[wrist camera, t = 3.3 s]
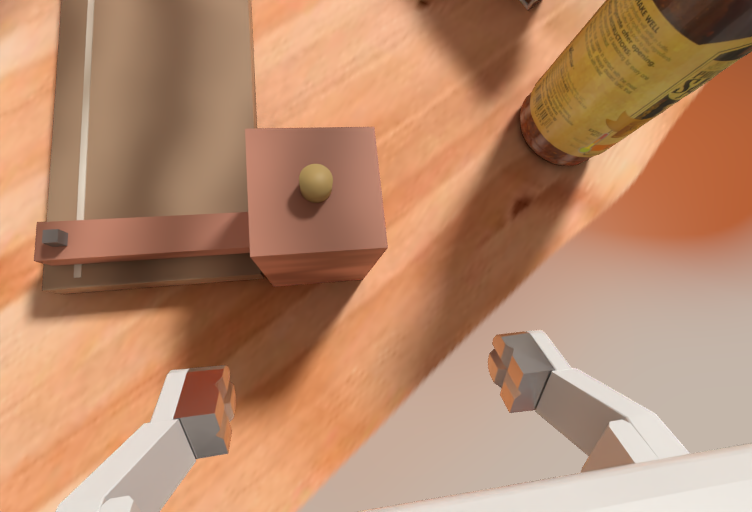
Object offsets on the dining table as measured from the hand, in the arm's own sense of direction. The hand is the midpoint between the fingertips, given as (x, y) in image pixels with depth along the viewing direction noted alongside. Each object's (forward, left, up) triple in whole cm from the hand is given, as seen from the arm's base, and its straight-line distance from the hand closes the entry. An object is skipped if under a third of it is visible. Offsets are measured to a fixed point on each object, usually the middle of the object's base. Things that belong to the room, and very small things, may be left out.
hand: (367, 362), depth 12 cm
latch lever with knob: (-6, +6, -10) cm, 13 cm away
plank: (-9, +15, -10) cm, 20 cm away
